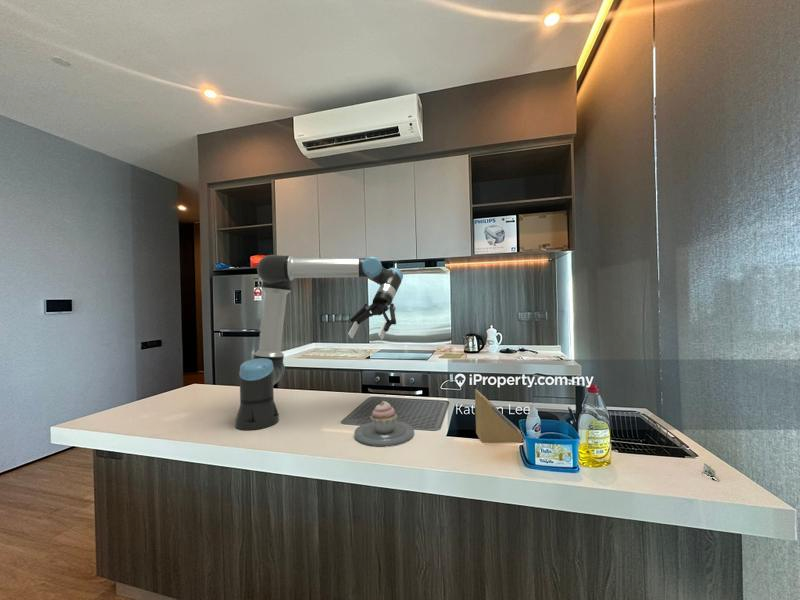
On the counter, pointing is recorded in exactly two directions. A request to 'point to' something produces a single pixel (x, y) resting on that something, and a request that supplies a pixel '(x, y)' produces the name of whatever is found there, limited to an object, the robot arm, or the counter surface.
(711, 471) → the small metal piece
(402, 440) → the slate plate
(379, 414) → the cupcake
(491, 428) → the sandwich container
